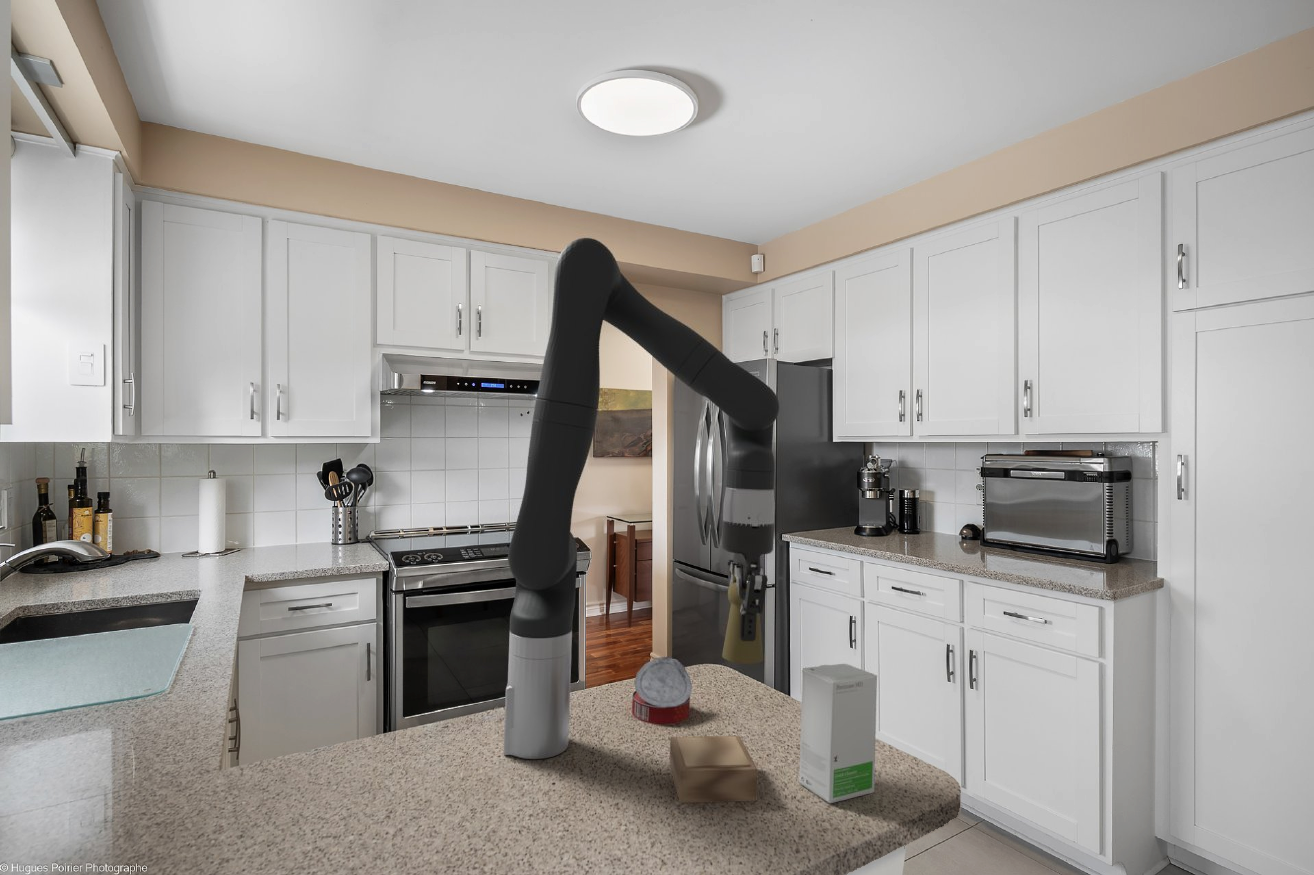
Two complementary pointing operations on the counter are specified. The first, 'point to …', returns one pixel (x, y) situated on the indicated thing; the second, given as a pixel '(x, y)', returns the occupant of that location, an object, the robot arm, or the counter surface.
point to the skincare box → (838, 731)
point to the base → (712, 769)
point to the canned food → (662, 692)
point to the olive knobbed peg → (733, 644)
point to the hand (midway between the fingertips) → (743, 635)
